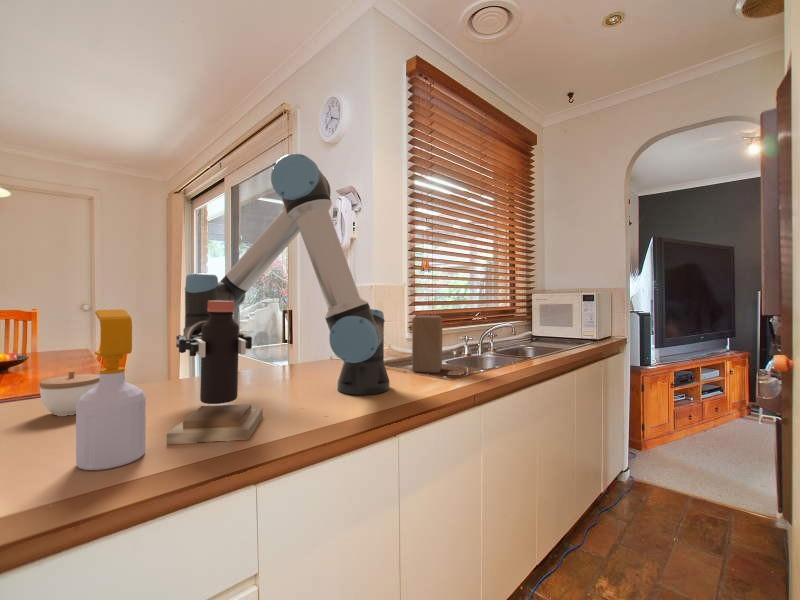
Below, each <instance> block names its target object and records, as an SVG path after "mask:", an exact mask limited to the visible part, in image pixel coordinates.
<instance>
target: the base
mask: <svg viewBox="0 0 800 600" xmlns="http://www.w3.org/2000/svg"><path fill="white" fill-rule="evenodd" d="M263 412H264V411H263V407H260V408H259V407H257V408H252V404H251V403H250V404H249V403H247V404H245V403H243V404H223V405H222V404H221V405H220V404H216V405H202V406H200V407H199V408H197V410H194V411H193V412H192V413H191V414H189V415H188V416H187V417H185V418H184V419H183V420H181V422H179V423H178V424H177V425H176V426H174V427H173V428H172V429H170V430H169V431H168V432H167V433H166V445H168V446H169V445H183V444H198V443H197V442H206V443H213V442H212V441H226V442H231V441H230V440H245V441H248V440H249V439H250V438H249V437H251V436H252V435H253V433H254V431H255V429H256V428H257V427H258V425H259V423H260V422H261V421H262V419H263V417H264V416H263ZM251 434H252V435H251ZM247 439H248V440H247Z"/></svg>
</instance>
